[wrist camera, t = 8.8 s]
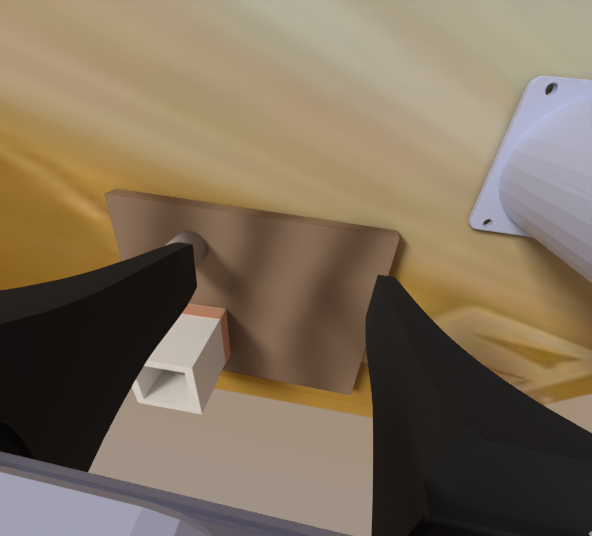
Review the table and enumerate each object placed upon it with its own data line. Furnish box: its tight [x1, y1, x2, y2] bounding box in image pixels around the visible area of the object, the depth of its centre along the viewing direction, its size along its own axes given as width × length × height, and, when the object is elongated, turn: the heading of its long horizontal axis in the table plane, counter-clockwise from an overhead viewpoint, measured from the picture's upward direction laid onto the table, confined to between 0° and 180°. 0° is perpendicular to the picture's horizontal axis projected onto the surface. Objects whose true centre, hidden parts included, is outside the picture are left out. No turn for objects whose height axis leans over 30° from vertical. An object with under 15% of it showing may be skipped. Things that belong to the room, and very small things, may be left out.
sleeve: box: [132, 304, 231, 414], centre depth 23 cm, size 5×5×6 cm
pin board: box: [105, 189, 400, 395], centre depth 22 cm, size 20×16×5 cm
